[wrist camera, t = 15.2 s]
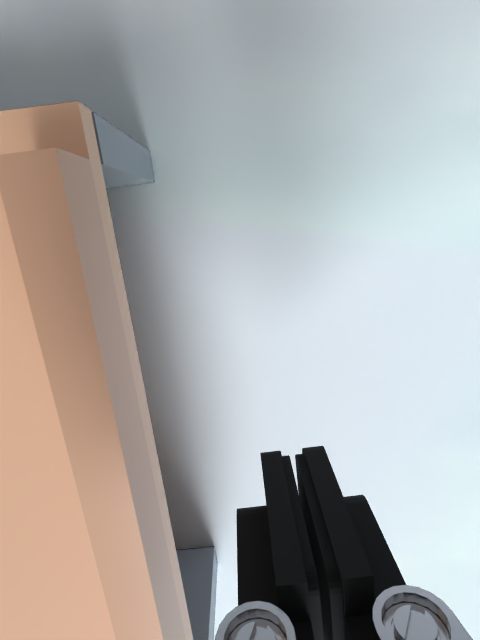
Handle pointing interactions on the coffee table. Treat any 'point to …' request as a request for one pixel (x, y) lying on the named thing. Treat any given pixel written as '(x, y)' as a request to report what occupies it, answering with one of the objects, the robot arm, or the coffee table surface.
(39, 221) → the lid
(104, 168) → the housing
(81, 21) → the coffee table surface
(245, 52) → the coffee table surface
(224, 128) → the coffee table surface
